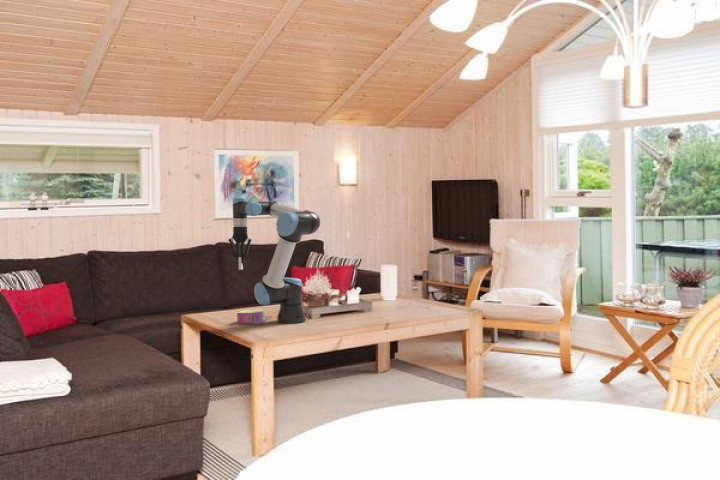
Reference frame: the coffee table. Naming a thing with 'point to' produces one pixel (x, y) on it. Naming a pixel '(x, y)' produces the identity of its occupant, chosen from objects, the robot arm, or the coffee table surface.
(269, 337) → the coffee table surface
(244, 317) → the box
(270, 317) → the felt mat
